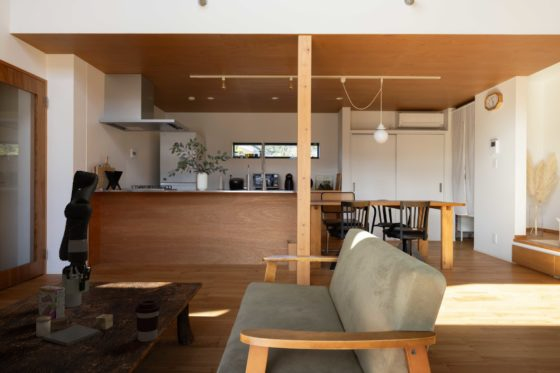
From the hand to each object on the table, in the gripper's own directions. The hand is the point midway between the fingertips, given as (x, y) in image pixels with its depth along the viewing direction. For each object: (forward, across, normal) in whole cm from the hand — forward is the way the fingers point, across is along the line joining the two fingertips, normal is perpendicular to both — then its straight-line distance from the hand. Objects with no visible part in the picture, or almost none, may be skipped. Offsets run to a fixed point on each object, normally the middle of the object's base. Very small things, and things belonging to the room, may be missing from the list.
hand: (77, 290), depth 157 cm
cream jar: (+18, -13, -6) cm, 23 cm away
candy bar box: (+18, -23, +4) cm, 29 cm away
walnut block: (+18, -14, +1) cm, 23 cm away
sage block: (+1, 0, 0) cm, 1 cm away
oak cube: (+19, +3, +11) cm, 22 cm away
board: (+19, 0, -2) cm, 19 cm away
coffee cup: (+20, +30, +9) cm, 37 cm away
